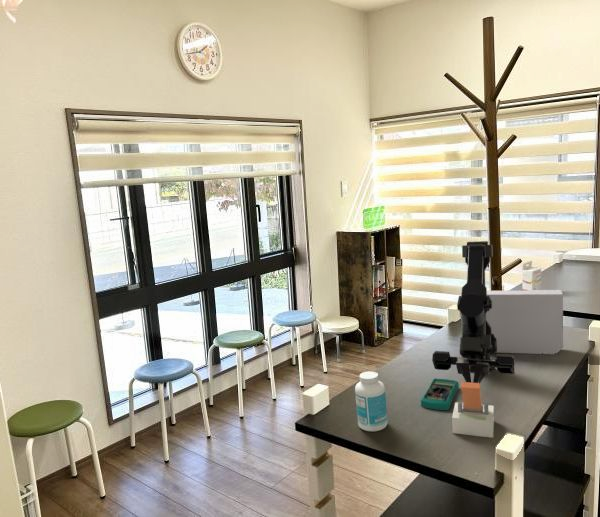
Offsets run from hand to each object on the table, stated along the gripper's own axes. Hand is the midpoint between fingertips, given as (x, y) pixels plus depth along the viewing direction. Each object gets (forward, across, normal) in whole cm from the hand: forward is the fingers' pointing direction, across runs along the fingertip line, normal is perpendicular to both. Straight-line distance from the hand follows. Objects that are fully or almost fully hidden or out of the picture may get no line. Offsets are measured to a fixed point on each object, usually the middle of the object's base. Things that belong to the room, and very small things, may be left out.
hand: (472, 396), depth 119 cm
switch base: (+5, 0, +7) cm, 9 cm away
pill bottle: (+8, -24, +4) cm, 26 cm away
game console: (-33, +10, +46) cm, 57 cm away
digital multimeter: (-5, -10, +18) cm, 21 cm away
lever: (+2, 0, +4) cm, 4 cm away
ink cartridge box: (-84, +18, +97) cm, 130 cm away
